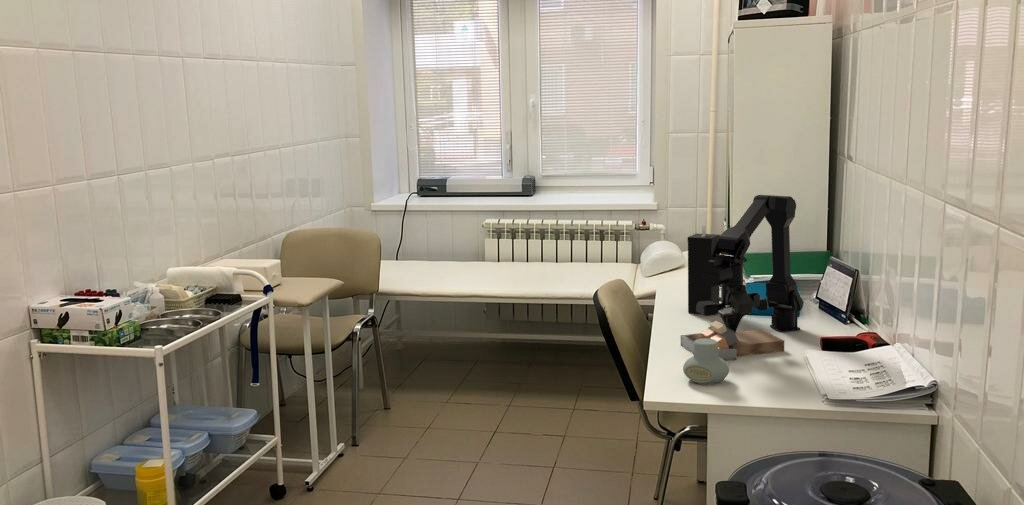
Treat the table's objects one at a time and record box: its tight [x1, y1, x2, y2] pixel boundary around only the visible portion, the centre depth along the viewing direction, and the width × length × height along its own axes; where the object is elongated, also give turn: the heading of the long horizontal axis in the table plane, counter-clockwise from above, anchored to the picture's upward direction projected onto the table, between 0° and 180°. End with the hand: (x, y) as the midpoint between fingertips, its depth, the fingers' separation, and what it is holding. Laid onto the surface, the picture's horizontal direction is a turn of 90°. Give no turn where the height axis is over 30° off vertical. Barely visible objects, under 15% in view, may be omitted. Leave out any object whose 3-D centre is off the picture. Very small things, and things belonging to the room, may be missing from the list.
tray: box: [680, 332, 738, 362], centre depth 231 cm, size 8×17×3 cm, turn 13°
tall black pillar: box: [687, 225, 721, 315], centre depth 272 cm, size 8×8×28 cm
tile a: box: [700, 328, 716, 339], centre depth 234 cm, size 4×4×2 cm
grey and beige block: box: [707, 320, 739, 346], centre depth 231 cm, size 3×10×5 cm, turn 13°
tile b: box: [710, 334, 729, 350], centre depth 229 cm, size 4×4×2 cm
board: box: [729, 328, 785, 357], centre depth 234 cm, size 15×12×3 cm
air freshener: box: [682, 338, 730, 386], centre depth 208 cm, size 11×8×10 cm
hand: (731, 336), depth 232 cm, fingers closed
